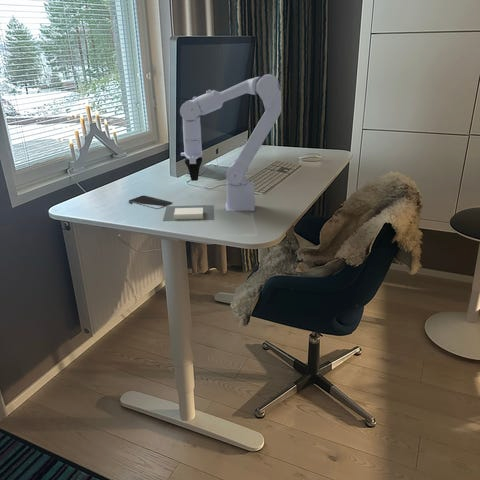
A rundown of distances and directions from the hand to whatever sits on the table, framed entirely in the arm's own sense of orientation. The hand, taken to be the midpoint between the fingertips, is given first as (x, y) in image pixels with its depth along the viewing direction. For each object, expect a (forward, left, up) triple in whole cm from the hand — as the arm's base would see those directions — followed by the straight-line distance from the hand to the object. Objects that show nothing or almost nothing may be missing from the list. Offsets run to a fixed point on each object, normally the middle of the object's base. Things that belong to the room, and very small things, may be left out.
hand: (194, 180), depth 152 cm
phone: (+16, -4, -10) cm, 19 cm away
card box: (+2, +7, -8) cm, 11 cm away
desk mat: (+2, +8, -9) cm, 12 cm away
